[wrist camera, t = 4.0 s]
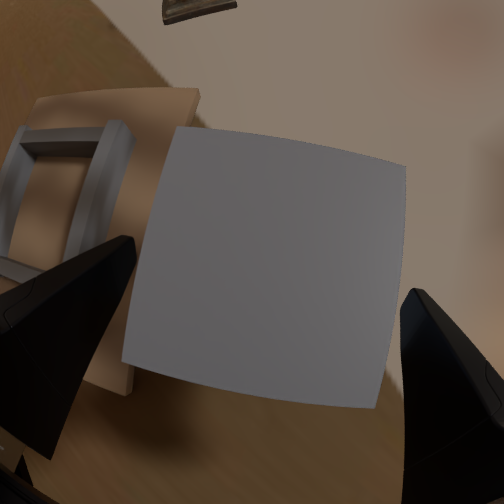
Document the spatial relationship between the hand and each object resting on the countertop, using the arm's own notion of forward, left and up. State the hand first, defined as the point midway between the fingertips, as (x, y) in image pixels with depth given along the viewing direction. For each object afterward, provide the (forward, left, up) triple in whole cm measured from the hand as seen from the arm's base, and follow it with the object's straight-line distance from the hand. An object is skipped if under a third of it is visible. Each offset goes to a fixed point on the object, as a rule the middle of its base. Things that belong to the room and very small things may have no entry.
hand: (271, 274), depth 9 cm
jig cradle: (-5, +14, -8) cm, 17 cm away
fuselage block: (0, 0, -8) cm, 8 cm away
